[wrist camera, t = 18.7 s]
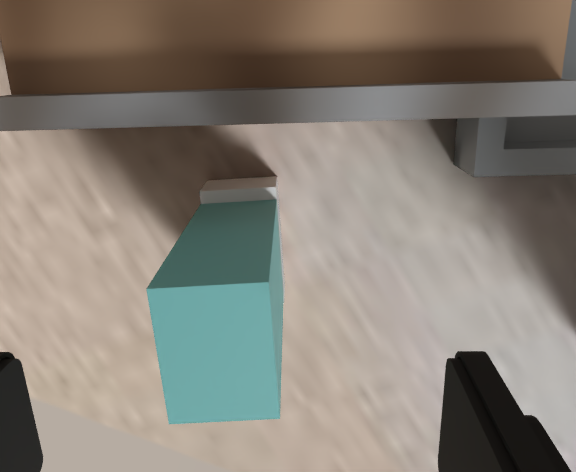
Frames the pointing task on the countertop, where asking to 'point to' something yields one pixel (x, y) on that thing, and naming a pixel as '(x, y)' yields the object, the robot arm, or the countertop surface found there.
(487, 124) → the tray
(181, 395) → the teal block
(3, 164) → the countertop surface
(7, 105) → the channel board
